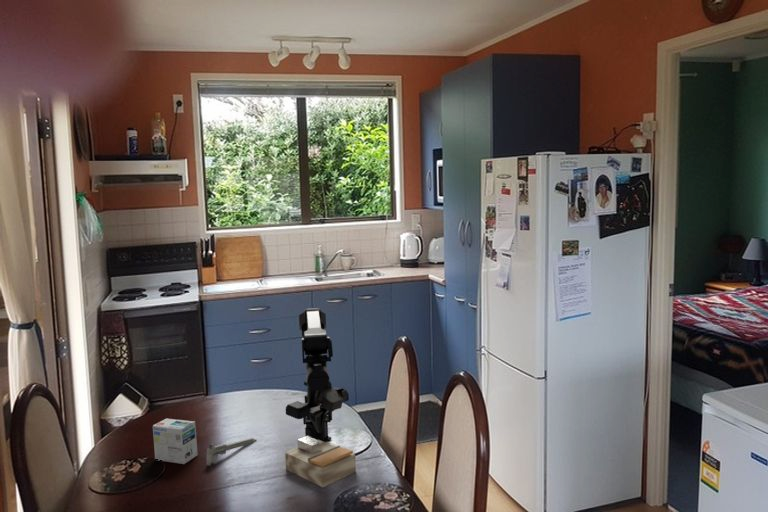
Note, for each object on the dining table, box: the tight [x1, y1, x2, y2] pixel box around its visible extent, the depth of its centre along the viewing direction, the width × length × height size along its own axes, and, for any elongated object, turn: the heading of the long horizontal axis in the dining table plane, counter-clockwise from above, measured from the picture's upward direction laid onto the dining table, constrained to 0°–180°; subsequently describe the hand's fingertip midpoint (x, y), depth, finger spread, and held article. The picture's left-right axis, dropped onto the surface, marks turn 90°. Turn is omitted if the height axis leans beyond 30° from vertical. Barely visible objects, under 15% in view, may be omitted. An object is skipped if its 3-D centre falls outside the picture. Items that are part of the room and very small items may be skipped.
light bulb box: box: [152, 418, 199, 465], centre depth 186 cm, size 11×7×11 cm, turn 71°
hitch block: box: [284, 439, 357, 488], centre depth 176 cm, size 16×12×5 cm
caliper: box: [205, 437, 257, 467], centre depth 189 cm, size 20×1×6 cm, turn 151°
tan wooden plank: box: [308, 445, 354, 467], centre depth 172 cm, size 6×11×1 cm, turn 136°
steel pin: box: [297, 436, 322, 454], centre depth 178 cm, size 4×6×7 cm, turn 45°
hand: (319, 431), depth 175 cm, fingers closed
